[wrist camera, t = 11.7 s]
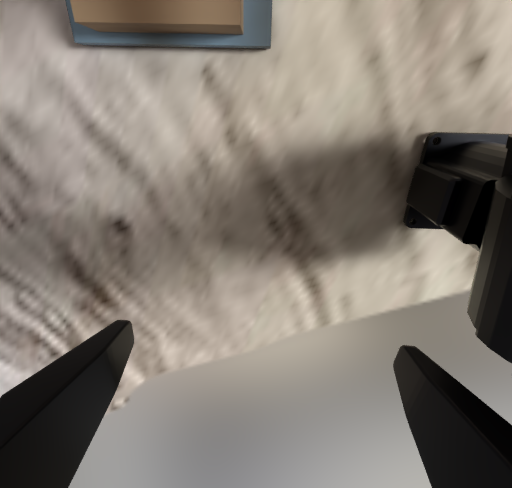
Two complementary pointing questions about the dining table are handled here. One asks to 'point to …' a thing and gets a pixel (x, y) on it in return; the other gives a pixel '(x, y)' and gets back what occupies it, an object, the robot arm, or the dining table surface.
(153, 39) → the foundation block
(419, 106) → the dining table surface
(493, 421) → the robot arm
